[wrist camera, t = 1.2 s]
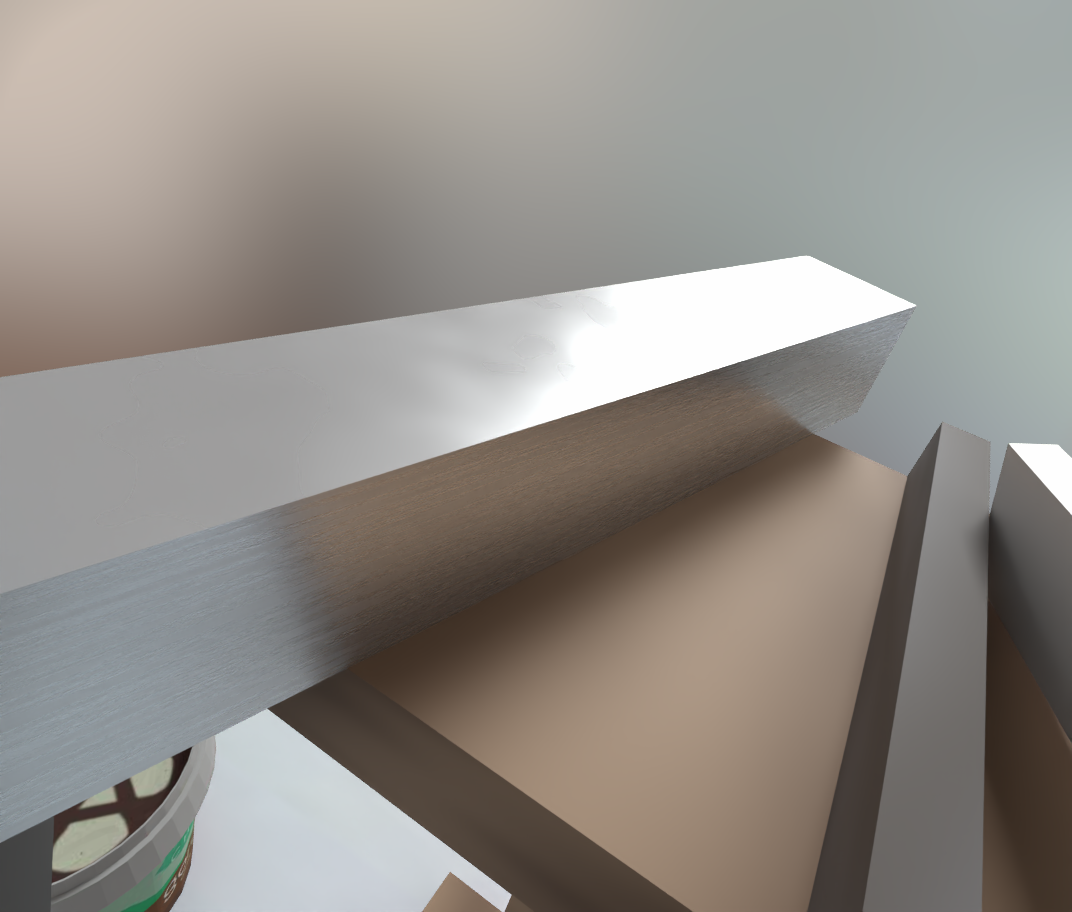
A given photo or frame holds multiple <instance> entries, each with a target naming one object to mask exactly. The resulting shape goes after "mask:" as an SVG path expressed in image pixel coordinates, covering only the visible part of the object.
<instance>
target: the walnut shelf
mask: <svg viewBox="0 0 1072 912" xmlns="http://www.w3.org/2000/svg"><path fill="white" fill-rule="evenodd" d="M989 488H990V442H989V441H987V440H985V439H982V438H980V437H977V436H975V435H973V434H970V433H968V432H966V431H963V430H961V429H959V428H956V427H954V426H951V425H949V424H947V423H944V422H942V423H941V425H940V426H939V428H938V429H937V431H936V433H935V434H934V436H933V437H932V439H931V440H930V442H929V444H928V445H927V447H926V448H925V450H924V451H923V453H922V455H921V456H920V458H919V459H918V461H917V462H916V464H915V465H914V467H913V469H912V470H911V472H910V473H909V475H908V476H905V475H903V474H901V473H899V472H896V471H894V470H892V469H890V468H887V467H885V466H883V465H881V464H879V463H877V462H874V461H872V460H870V459H868V458H866V457H863V456H861V455H859V454H857V453H855V452H852V451H850V450H848V449H846V448H843V447H841V446H839V445H837V444H834V443H832V442H830V441H828V440H826V439H824V438H821V437H819V436H817V435H815V434H813V435H811V436H809V437H807V438H805V439H803V440H801V441H799V442H797V443H795V444H793V445H791V446H789V447H787V448H785V449H783V450H781V451H779V452H777V453H775V454H773V455H771V456H769V457H767V458H765V459H763V460H761V461H759V462H757V463H755V464H753V465H751V466H749V467H747V468H745V469H743V470H741V471H739V472H737V473H735V474H733V475H731V476H729V477H727V478H725V479H723V480H721V481H719V482H717V483H715V484H713V485H711V486H709V487H707V488H705V489H703V490H701V491H699V492H697V493H695V494H693V495H691V496H689V497H687V498H685V499H683V500H681V501H679V502H677V503H675V504H673V505H671V506H669V507H667V508H665V509H663V510H661V511H659V512H657V513H655V514H653V515H651V516H649V517H647V518H645V519H643V520H641V521H639V522H637V523H635V524H633V525H632V526H630V527H628V528H626V529H624V530H622V531H620V532H618V533H616V534H614V535H612V536H610V537H608V538H606V539H604V540H602V541H600V542H598V543H596V544H594V545H592V546H590V547H588V548H586V549H584V550H582V551H580V552H578V553H576V554H574V555H572V556H570V557H568V558H566V559H564V560H562V561H560V562H558V563H556V564H554V565H552V566H550V567H548V568H546V569H544V570H542V571H540V572H538V573H536V574H534V575H532V576H530V577H528V578H526V579H524V580H522V581H520V582H518V583H516V584H514V585H512V586H510V587H508V588H506V589H504V590H502V591H500V592H498V593H496V594H494V595H492V596H490V597H488V598H486V599H484V600H482V601H480V602H478V603H476V604H474V605H472V606H470V607H468V608H466V609H464V610H462V611H460V612H458V613H456V614H454V615H452V616H450V617H448V618H446V619H444V620H442V621H440V622H438V623H436V624H434V625H432V626H431V627H429V628H427V629H425V630H423V631H421V632H419V633H417V634H415V635H413V636H411V637H409V638H407V639H405V640H403V641H401V642H399V643H397V644H395V645H393V646H391V647H389V648H387V649H385V650H383V651H381V652H379V653H377V654H375V655H373V656H371V657H369V658H367V659H365V660H363V661H361V662H359V663H357V664H355V665H353V666H351V667H349V668H347V669H345V670H343V671H341V672H339V673H337V674H335V675H333V676H331V677H329V678H327V679H325V680H323V681H321V682H319V683H317V684H315V685H313V686H311V687H309V688H307V689H305V690H303V691H301V692H299V693H297V694H295V695H293V696H291V697H289V698H287V699H285V700H283V701H281V702H279V703H277V704H275V705H273V706H271V707H269V708H267V709H269V710H270V711H271V712H273V713H274V714H275V715H276V716H278V717H279V718H280V719H282V720H283V721H284V722H286V723H287V724H288V725H290V726H291V727H292V728H294V729H295V730H296V731H297V732H299V733H300V734H301V735H303V736H304V737H305V738H307V739H308V740H309V741H311V742H312V743H313V744H315V745H316V746H317V747H319V748H320V749H321V750H322V751H324V752H325V753H326V754H328V755H329V756H330V757H332V758H333V759H334V760H336V761H337V762H338V763H340V764H341V765H342V766H343V767H345V768H346V769H347V770H349V771H350V772H351V773H353V774H354V775H355V776H357V777H358V778H359V779H361V780H362V781H363V782H365V783H366V784H367V785H368V786H370V787H371V788H372V789H374V790H375V791H376V792H378V793H379V794H380V795H382V796H383V797H384V798H386V799H387V800H388V801H389V802H391V803H392V804H393V805H395V806H396V807H397V808H399V809H400V810H401V811H403V812H404V813H405V814H407V815H408V816H409V817H411V818H412V819H413V820H414V821H416V822H417V823H418V824H420V825H421V826H422V827H424V828H425V829H426V830H428V831H429V832H430V833H432V834H433V835H434V836H435V837H437V838H438V839H439V840H441V841H442V842H443V843H445V844H446V845H447V846H449V847H450V848H451V849H453V850H454V851H455V852H457V853H458V854H459V855H460V856H462V857H463V858H464V859H466V860H467V861H468V862H470V863H471V864H472V865H474V866H475V867H476V868H478V869H479V870H480V871H481V872H483V873H484V874H485V875H487V876H488V877H489V878H491V879H492V880H493V881H495V882H496V883H497V884H499V885H500V886H501V887H503V888H504V889H505V890H506V891H508V892H509V893H510V894H512V896H511V898H510V900H509V903H508V905H507V907H506V910H505V912H1072V743H1071V742H1070V740H1069V738H1068V736H1067V735H1066V733H1065V731H1064V729H1063V728H1062V726H1061V724H1060V722H1059V721H1058V719H1057V717H1056V715H1055V714H1054V712H1053V710H1052V708H1051V707H1050V705H1049V703H1048V701H1047V700H1046V698H1045V696H1044V694H1043V693H1042V691H1041V689H1040V687H1039V686H1038V684H1037V682H1036V680H1035V679H1034V677H1033V675H1032V673H1031V672H1030V670H1029V668H1028V666H1027V665H1026V663H1025V661H1024V659H1023V658H1022V656H1021V654H1020V652H1019V651H1018V649H1017V647H1016V645H1015V644H1014V642H1013V640H1012V638H1011V637H1010V635H1009V633H1008V632H1007V630H1006V628H1005V626H1004V625H1003V623H1002V621H1001V619H1000V618H999V616H998V614H997V612H996V611H995V609H994V607H993V605H992V604H991V602H990V600H989V598H988V597H987V596H988V542H989V516H990V514H989ZM422 912H501V911H500V910H499V909H497V908H496V907H495V906H493V905H492V904H491V903H490V902H488V901H487V900H486V899H484V898H483V897H482V896H481V895H479V894H478V893H477V892H475V891H474V890H473V889H471V888H470V887H469V886H468V885H466V884H465V883H464V882H462V881H461V880H460V879H459V878H457V877H456V876H455V875H453V874H452V873H451V872H450V873H449V874H448V876H447V877H446V878H445V880H444V881H443V883H442V884H441V886H440V887H439V888H438V890H437V891H436V893H435V894H434V896H433V897H432V899H431V900H430V901H429V903H428V904H427V906H426V907H425V909H424V910H423V911H422Z"/></svg>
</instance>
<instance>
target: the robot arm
mask: <svg viewBox="0 0 1072 912" xmlns="http://www.w3.org/2000/svg"><path fill="white" fill-rule="evenodd" d="M987 597H988V598H989V600H990V602H991V604H992V605H993V607H994V609H995V611H996V612H997V614H998V616H999V618H1000V619H1001V621H1002V623H1003V625H1004V626H1005V628H1006V630H1007V632H1008V633H1009V635H1010V637H1011V638H1012V640H1013V642H1014V644H1015V645H1016V647H1017V649H1018V651H1019V652H1020V654H1021V656H1022V658H1023V659H1024V661H1025V663H1026V665H1027V666H1028V668H1029V670H1030V672H1031V673H1032V675H1033V677H1034V679H1035V680H1036V682H1037V684H1038V686H1039V687H1040V689H1041V691H1042V693H1043V694H1044V696H1045V698H1046V700H1047V701H1048V703H1049V705H1050V707H1051V708H1052V710H1053V712H1054V714H1055V715H1056V717H1057V719H1058V721H1059V722H1060V724H1061V726H1062V728H1063V729H1064V731H1065V733H1066V735H1067V736H1068V738H1069V740H1070V742H1071V743H1072V458H1071V457H1070V456H1069V455H1068V454H1066V453H1065V452H1064V451H1063V450H1062V449H1061V448H1060V447H1059V446H1058V445H1045V444H1015V443H1008V447H1007V450H1006V454H1005V458H1004V462H1003V466H1002V470H1001V474H1000V477H999V481H998V485H997V489H996V493H995V497H994V501H993V504H992V508H991V513H990V516H989V542H988V596H987ZM53 833H54V816H53V817H51V818H49V819H47V820H45V821H43V822H41V823H39V824H37V825H35V826H33V827H31V828H29V829H27V830H25V831H23V832H21V833H19V834H17V835H15V836H13V837H11V838H9V839H7V840H5V841H3V842H1V843H0V912H51V887H52V860H53Z"/></svg>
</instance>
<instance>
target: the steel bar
mask: <svg viewBox="0 0 1072 912" xmlns="http://www.w3.org/2000/svg"><path fill="white" fill-rule="evenodd" d="M915 308H916V305H914V304H912V303H910V302H907V301H905V300H903V299H901V298H899V297H896V296H894V295H892V294H890V293H888V292H886V291H883V290H881V289H879V288H877V287H875V286H872V285H870V284H868V283H866V282H864V281H862V280H859V279H857V278H855V277H853V276H851V275H849V274H846V273H844V272H842V271H840V270H838V269H835V268H833V267H831V266H829V265H826V264H825V263H822V262H820V261H818V260H816V259H814V258H811V257H809V256H803V257H797V258H789V259H783V260H776V261H769V262H763V263H757V264H750V265H743V266H736V267H730V268H723V269H716V270H710V271H703V272H696V273H690V274H683V275H676V276H670V277H663V278H657V279H650V280H643V281H637V282H630V283H624V284H617V285H610V286H603V287H597V288H590V289H583V290H578V291H571V292H564V293H557V294H551V295H544V296H537V297H530V298H525V299H517V300H511V301H504V302H497V303H491V304H484V305H477V306H471V307H464V308H457V309H451V310H444V311H437V312H431V313H424V314H418V315H411V316H404V317H398V318H391V319H385V320H378V321H371V322H365V323H358V324H351V325H345V326H338V327H332V328H325V329H318V330H311V331H305V332H298V333H292V334H285V335H278V336H271V337H265V338H258V339H252V340H245V341H238V342H233V343H225V344H218V345H212V346H205V347H199V348H192V349H185V350H179V351H172V352H165V353H159V354H152V355H145V356H139V357H132V358H125V359H119V360H112V361H106V362H99V363H93V364H86V365H79V366H72V367H66V368H60V369H52V370H46V371H39V372H33V373H26V374H20V375H13V376H6V377H0V843H1V842H3V841H5V840H7V839H9V838H11V837H13V836H15V835H17V834H19V833H21V832H23V831H25V830H27V829H29V828H31V827H33V826H35V825H37V824H39V823H41V822H43V821H45V820H47V819H49V818H51V817H53V816H54V815H56V814H58V813H60V812H62V811H64V810H66V809H68V808H70V807H72V806H74V805H76V804H78V803H80V802H82V801H84V800H86V799H88V798H90V797H92V796H94V795H96V794H98V793H100V792H102V791H104V790H106V789H108V788H110V787H112V786H114V785H116V784H118V783H120V782H122V781H124V780H126V779H128V778H130V777H132V776H134V775H136V774H138V773H140V772H142V771H144V770H146V769H148V768H150V767H152V766H154V765H156V764H158V763H160V762H162V761H164V760H166V759H168V758H170V757H172V756H174V755H176V754H178V753H180V752H182V751H184V750H186V749H188V748H190V747H192V746H194V745H196V744H198V743H200V742H202V741H204V740H206V739H208V738H210V737H212V736H214V735H216V734H218V733H220V732H222V731H224V730H226V729H228V728H230V727H232V726H234V725H236V724H238V723H240V722H242V721H244V720H246V719H248V718H250V717H252V716H254V715H255V714H257V713H259V712H261V711H263V710H265V709H267V708H269V707H271V706H273V705H275V704H277V703H279V702H281V701H283V700H285V699H287V698H289V697H291V696H293V695H295V694H297V693H299V692H301V691H303V690H305V689H307V688H309V687H311V686H313V685H315V684H317V683H319V682H321V681H323V680H325V679H327V678H329V677H331V676H333V675H335V674H337V673H339V672H341V671H343V670H345V669H347V668H349V667H351V666H353V665H355V664H357V663H359V662H361V661H363V660H365V659H367V658H369V657H371V656H373V655H375V654H377V653H379V652H381V651H383V650H385V649H387V648H389V647H391V646H393V645H395V644H397V643H399V642H401V641H403V640H405V639H407V638H409V637H411V636H413V635H415V634H417V633H419V632H421V631H423V630H425V629H427V628H429V627H431V626H432V625H434V624H436V623H438V622H440V621H442V620H444V619H446V618H448V617H450V616H452V615H454V614H456V613H458V612H460V611H462V610H464V609H466V608H468V607H470V606H472V605H474V604H476V603H478V602H480V601H482V600H484V599H486V598H488V597H490V596H492V595H494V594H496V593H498V592H500V591H502V590H504V589H506V588H508V587H510V586H512V585H514V584H516V583H518V582H520V581H522V580H524V579H526V578H528V577H530V576H532V575H534V574H536V573H538V572H540V571H542V570H544V569H546V568H548V567H550V566H552V565H554V564H556V563H558V562H560V561H562V560H564V559H566V558H568V557H570V556H572V555H574V554H576V553H578V552H580V551H582V550H584V549H586V548H588V547H590V546H592V545H594V544H596V543H598V542H600V541H602V540H604V539H606V538H608V537H610V536H612V535H614V534H616V533H618V532H620V531H622V530H624V529H626V528H628V527H630V526H632V525H633V524H635V523H637V522H639V521H641V520H643V519H645V518H647V517H649V516H651V515H653V514H655V513H657V512H659V511H661V510H663V509H665V508H667V507H669V506H671V505H673V504H675V503H677V502H679V501H681V500H683V499H685V498H687V497H689V496H691V495H693V494H695V493H697V492H699V491H701V490H703V489H705V488H707V487H709V486H711V485H713V484H715V483H717V482H719V481H721V480H723V479H725V478H727V477H729V476H731V475H733V474H735V473H737V472H739V471H741V470H743V469H745V468H747V467H749V466H751V465H753V464H755V463H757V462H759V461H761V460H763V459H765V458H767V457H769V456H771V455H773V454H775V453H777V452H779V451H781V450H783V449H785V448H787V447H789V446H791V445H793V444H795V443H797V442H799V441H801V440H803V439H805V438H807V437H809V436H811V435H813V434H815V433H817V432H819V431H821V430H823V429H825V428H827V427H829V426H831V425H832V424H835V423H837V422H838V421H840V420H843V419H844V418H847V417H849V416H851V415H852V414H854V413H856V412H858V410H859V408H860V407H861V405H862V403H863V401H864V399H865V397H866V396H867V394H868V392H869V390H870V389H871V387H872V385H873V383H874V381H875V380H876V378H877V376H878V374H879V372H880V371H881V369H882V367H883V365H884V363H885V362H886V360H887V358H888V356H889V354H890V353H891V351H892V349H893V347H894V346H895V344H896V342H897V340H898V338H899V336H900V335H901V333H902V331H903V329H904V328H905V326H906V324H907V322H908V320H909V319H910V317H911V315H912V313H913V311H914V310H915Z"/></svg>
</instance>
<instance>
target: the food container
mask: <svg viewBox="0 0 1072 912" xmlns="http://www.w3.org/2000/svg"><path fill="white" fill-rule="evenodd" d="M215 753H216V742H215V735H214V736H212V737H210V738H208V739H206V740H204V741H202V742H200V743H198V744H196V745H194V746H192V747H190V748H188V749H186V750H184V751H182V752H180V753H178V754H176V755H174V756H172V757H170V758H168V759H166V760H164V761H162V762H160V763H158V764H156V765H154V766H152V767H150V768H148V769H146V770H144V771H142V772H140V773H138V774H136V775H134V776H132V777H130V778H128V779H126V780H124V781H122V782H120V783H118V784H116V785H114V786H112V787H110V788H108V789H106V790H104V791H102V792H100V793H98V794H96V795H94V796H92V797H90V798H88V799H86V800H84V801H82V802H80V803H78V804H76V805H74V806H72V807H70V808H68V809H66V810H64V811H62V812H60V813H58V814H56V815H54V833H53V860H52V887H51V912H169V911H170V910H171V908H172V907H173V905H174V904H175V902H176V901H177V899H178V897H179V896H180V894H181V893H182V890H183V887H184V884H185V881H186V878H187V875H188V872H189V869H190V866H191V858H192V849H193V835H194V820H195V817H196V815H197V813H198V811H199V809H200V807H201V804H202V802H203V800H204V798H205V796H206V794H207V791H208V788H209V785H210V781H211V777H212V774H213V770H214V763H215Z"/></svg>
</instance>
